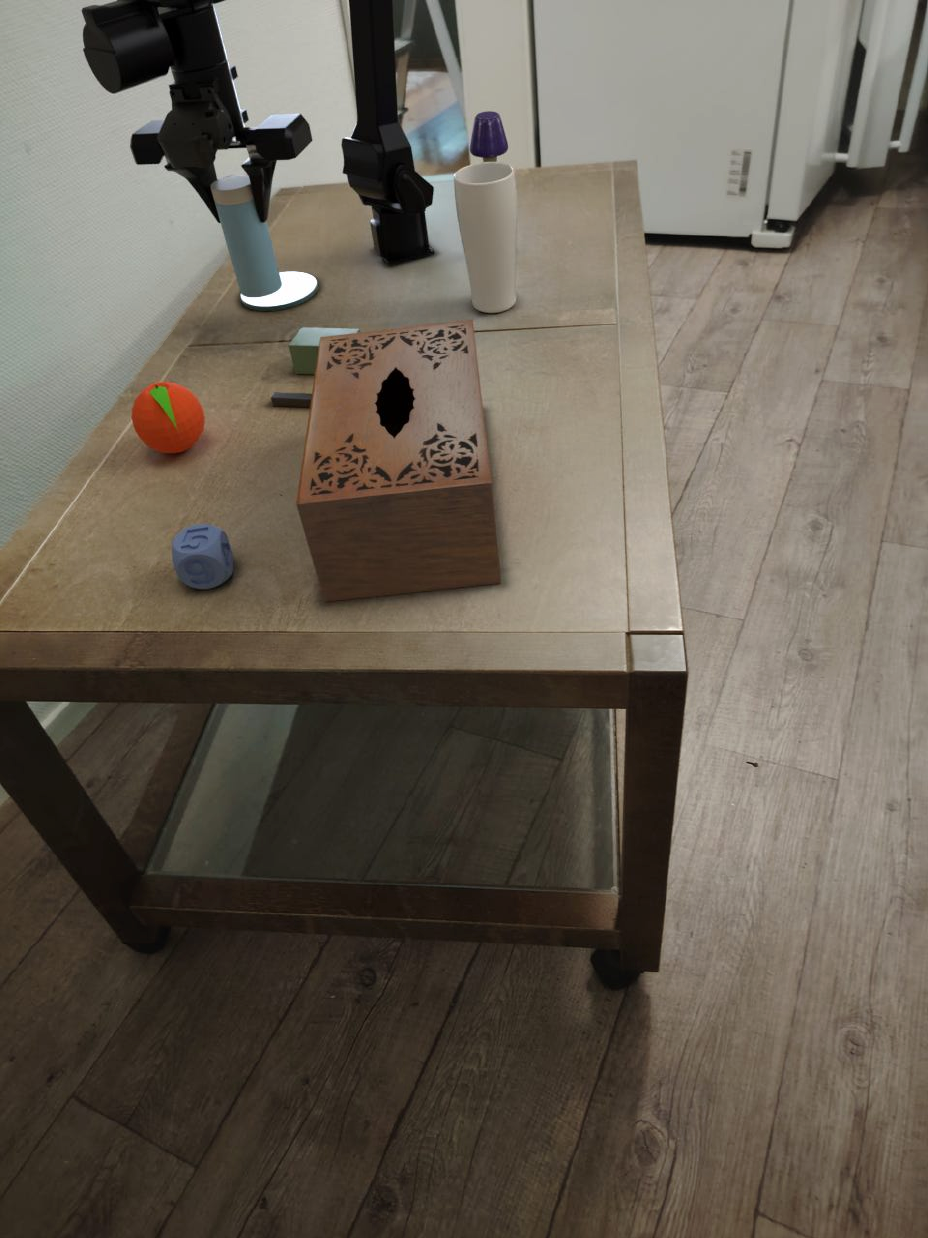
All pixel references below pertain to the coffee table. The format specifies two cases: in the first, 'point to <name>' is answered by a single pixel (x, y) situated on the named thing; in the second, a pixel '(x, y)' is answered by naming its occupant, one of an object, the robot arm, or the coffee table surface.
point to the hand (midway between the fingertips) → (242, 221)
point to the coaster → (285, 293)
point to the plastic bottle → (246, 237)
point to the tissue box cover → (398, 464)
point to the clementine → (168, 417)
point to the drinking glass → (488, 232)
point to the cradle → (305, 361)
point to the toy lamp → (488, 137)
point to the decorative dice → (202, 556)
